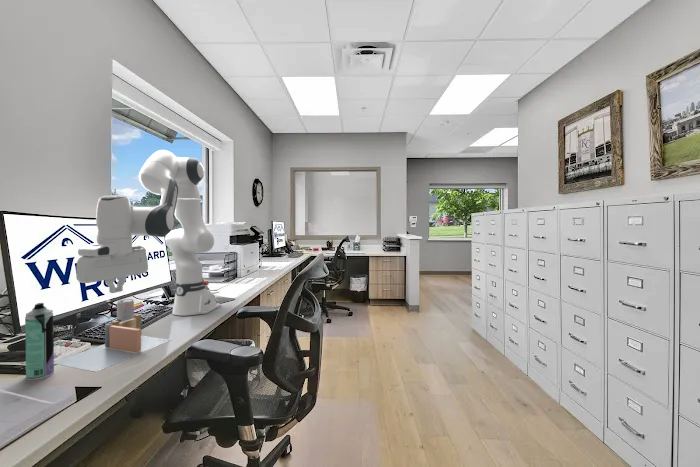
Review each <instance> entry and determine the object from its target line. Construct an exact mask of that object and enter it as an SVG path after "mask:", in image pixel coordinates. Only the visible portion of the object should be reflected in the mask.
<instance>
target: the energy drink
mask: <svg viewBox="0 0 700 467" xmlns="http://www.w3.org/2000/svg"><path fill="white" fill-rule="evenodd" d="M134 315H135V301H134V299H133V298H128V299H127V298H125V299H119V300H118V301H117V303H116V321H119V323H120V322H123V321H126V320H130V319H133V318H134Z"/></svg>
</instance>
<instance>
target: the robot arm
mask: <svg viewBox="0 0 700 467" xmlns="http://www.w3.org/2000/svg"><path fill="white" fill-rule="evenodd" d="M204 175H205V168H204V164H203V162H202V161H201V160H200V159H198V158H195V157H191V156H190V157H180V156H177V155H175V154H174V153H173V152H171V151H169V150H166V149H160V150H157V151H155V152H154V153H153V154H152V155H150V156H149V157H148V158H147V160H146V161H145V162H144V164H143V166H142V167H141V169H140V171H139V173H138V180H139V182H140V184H141V186H142V187H143V188H144V189H145V190H146V191H148V192H149V193H151V194H154V195H159V196H161V198H160V202H159V204H158V205H156V206H134V205H132V203H131V202H130V197H129V196H127V195H123V194H112V195H110V194H108V195H103V196H100V197H99V199H97V200H98V201H97V204H96V215H95V220H96V227H97V235H96V242H93V243H91V244H88V245H86V246H84V247H81V248H79V249H78V250H77V254H78V256H80V257H79V258H78V260H77V261H76V269H75V270H76V271H75V272H76V275H75V276H76V277H75V278H76V280H77V281H78V282H79V283H83V284H90V283H95V282H96V283H97V282H102V281H104V282H105V284H106V285H107V287H108V288H109V289H108V290H109V291H108V292H109V294H115V293H120V292H122V291H124V289H123V286H124V285H125V283H126V281H127V277H129V276H135V275H140V274H146V273H147V272H148V271H149V263H148V258H147V253H146V252H147V251H146V250H147V249H146V248H145V247H144V246H142V245H133V236H141V237H143V236H146V237H147V236H149V237H158V238H164V237H165V238H164V239H165V240H164V242H165V246H166V247H167V249H169V251H170V252H171V253H172V254H171V255H172V257H173V259H174V263H175V264H174V265H175V283H174V290H175V294H174V301H173V307H172V309H173V310H172V313H171V314H172V315H175V316H183V317H184V316H193V315H202V314H203V315H205V314H208V313H210V312H212V311H214V310H215V309H218V308H220V307H221V306H222V305H221V303H219V302H216V296H215V294H214V293H212V292H211V291H210V290H208V289H207V288H206V286H209V284H210V281H209V280H203V264H202V262H201V261H200V260H199V258H198V257H197V254H201V253H202V254H203V253H208V252H209V251H210V250H212V248H213V247H214V245H215V238H214V236H213V234H212V233H211V232H210V231H209V230H208V228H207V226H206V224H205V222H204V220H203V219H204V218H203V215H202V207H201V206H202V205H201V193H200V188H199V183H200V182H201V181H202V180H203V178H204ZM175 219H176V220H177V221H178V222H179V223H180V225H181V227H182V228H177V229H174V227H175ZM115 279H116V280H117V281H118V282H117V283H116V285H115V283H114V282H115V281H116V280H115Z"/></svg>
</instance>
